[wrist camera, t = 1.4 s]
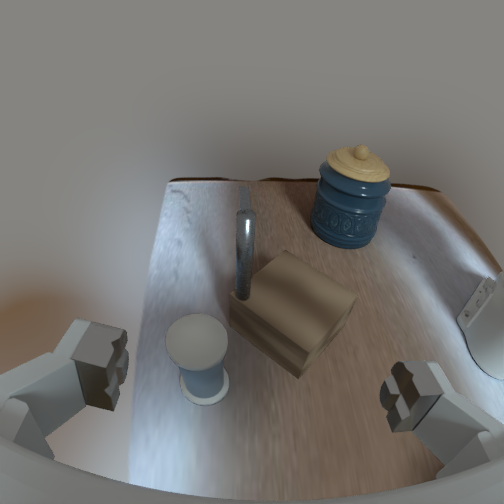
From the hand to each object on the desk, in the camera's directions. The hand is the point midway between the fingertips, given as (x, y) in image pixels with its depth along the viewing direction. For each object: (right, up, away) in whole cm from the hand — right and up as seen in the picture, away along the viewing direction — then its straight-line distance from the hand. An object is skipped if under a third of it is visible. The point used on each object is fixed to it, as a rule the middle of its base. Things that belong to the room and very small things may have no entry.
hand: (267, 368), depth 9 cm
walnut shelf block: (+5, -7, +35) cm, 36 cm away
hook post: (-2, 0, +32) cm, 32 cm away
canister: (+17, +8, +52) cm, 55 cm away
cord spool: (-6, -13, +28) cm, 32 cm away
